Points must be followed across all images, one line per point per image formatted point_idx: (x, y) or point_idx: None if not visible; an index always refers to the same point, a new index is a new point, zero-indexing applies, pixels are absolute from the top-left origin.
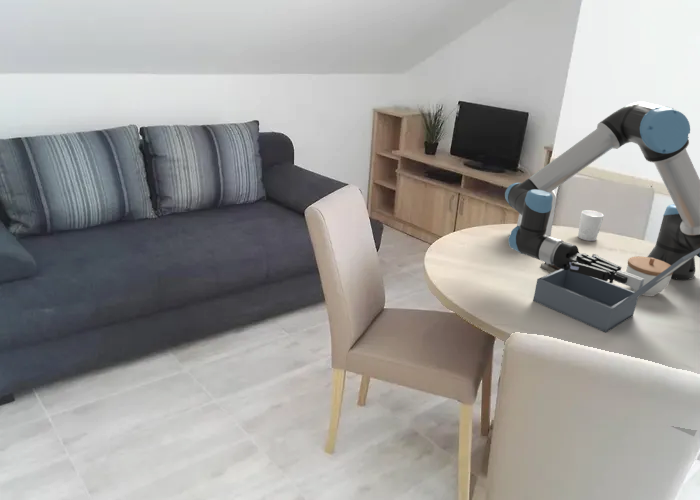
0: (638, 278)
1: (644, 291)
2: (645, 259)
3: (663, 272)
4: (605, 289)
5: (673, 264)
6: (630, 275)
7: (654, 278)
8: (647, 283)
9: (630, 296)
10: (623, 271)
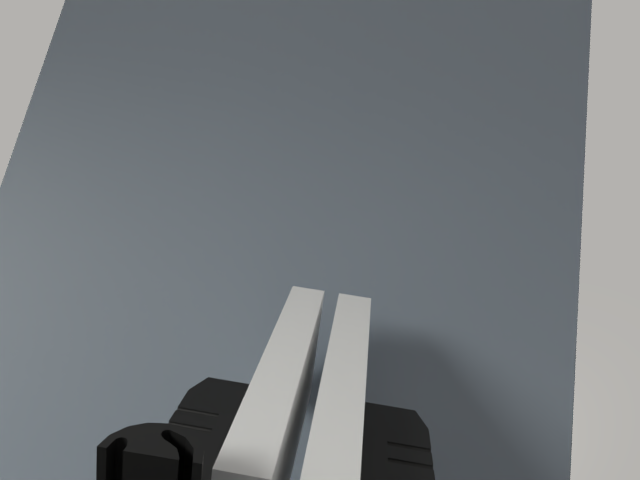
0: (345, 310)
1: None
2: None
3: (584, 69)
4: None
5: None
6: (335, 356)
7: (581, 148)
8: (579, 220)
9: (567, 436)
10: (255, 421)
